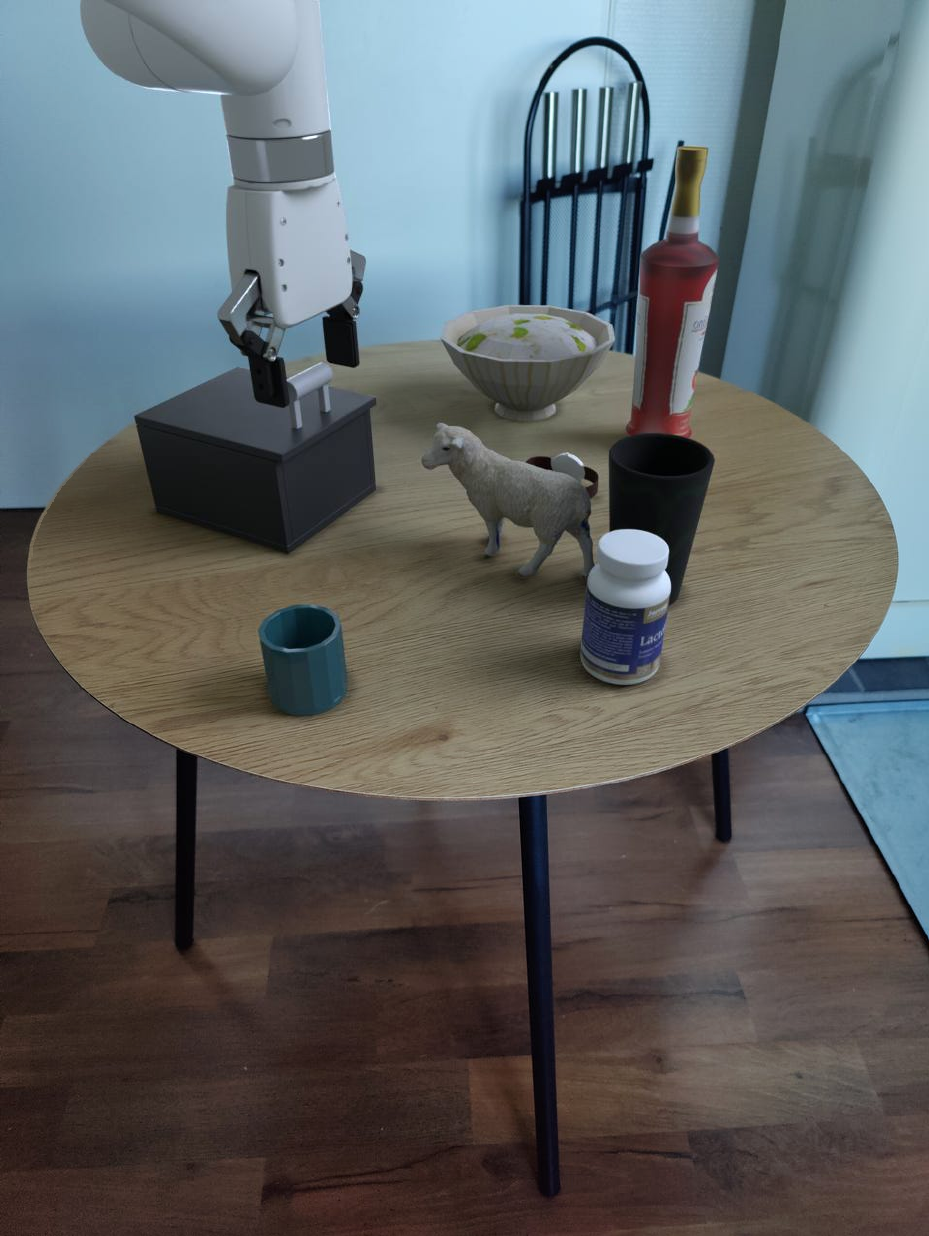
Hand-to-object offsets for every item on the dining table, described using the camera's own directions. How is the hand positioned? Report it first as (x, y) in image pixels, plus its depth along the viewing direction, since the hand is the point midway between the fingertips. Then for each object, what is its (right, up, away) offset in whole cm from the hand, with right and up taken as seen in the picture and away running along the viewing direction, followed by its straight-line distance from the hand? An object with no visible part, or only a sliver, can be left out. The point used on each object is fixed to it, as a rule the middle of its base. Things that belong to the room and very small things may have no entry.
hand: (309, 383), depth 77 cm
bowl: (+20, +4, +27) cm, 34 cm away
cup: (+28, -18, -3) cm, 33 cm away
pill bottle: (+24, -23, -11) cm, 35 cm away
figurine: (+17, -15, +1) cm, 22 cm away
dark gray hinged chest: (-6, -9, +10) cm, 14 cm away
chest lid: (-5, -2, +5) cm, 7 cm away
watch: (+22, -8, +11) cm, 26 cm away
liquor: (+33, -1, +20) cm, 39 cm away
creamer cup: (+2, -25, -13) cm, 28 cm away
